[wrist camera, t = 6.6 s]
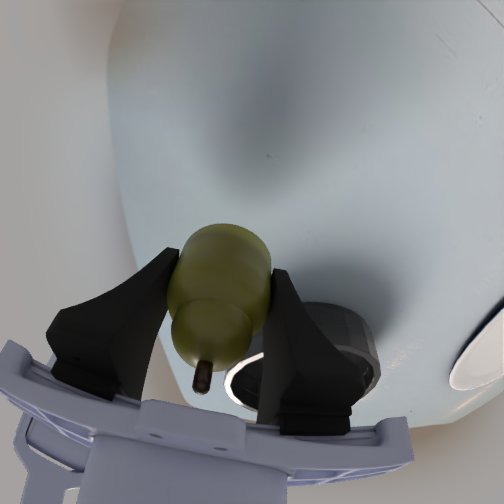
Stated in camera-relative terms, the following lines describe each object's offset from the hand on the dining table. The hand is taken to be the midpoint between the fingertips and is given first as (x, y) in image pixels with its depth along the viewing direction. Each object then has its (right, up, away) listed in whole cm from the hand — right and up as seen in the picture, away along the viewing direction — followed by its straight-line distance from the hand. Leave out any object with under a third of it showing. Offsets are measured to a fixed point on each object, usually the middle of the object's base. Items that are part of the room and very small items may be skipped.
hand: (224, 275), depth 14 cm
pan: (+6, -8, +11) cm, 15 cm away
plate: (+38, -10, +10) cm, 41 cm away
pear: (0, +1, +1) cm, 1 cm away
